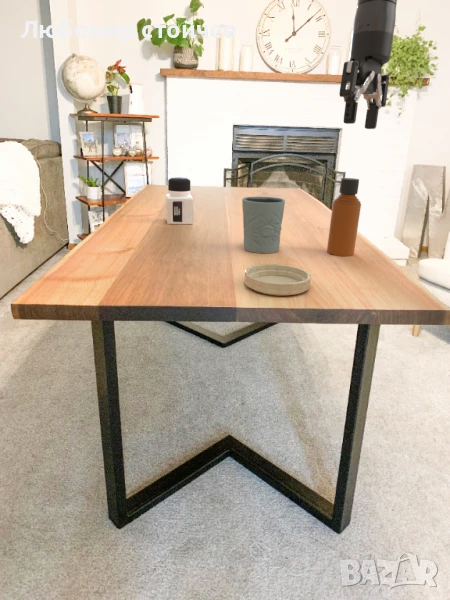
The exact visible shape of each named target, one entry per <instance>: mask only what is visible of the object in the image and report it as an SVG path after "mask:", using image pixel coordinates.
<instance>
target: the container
mask: <svg viewBox="0 0 450 600" xmlns="http://www.w3.org/2000/svg"><path fill="white" fill-rule="evenodd" d="M167 190H168V191H167V193H166V194H165V218H166V219H165V220H166V224H167V225H193V224H194V198H193V196H192V195H191V180H190V179H189V178H187V177H179V176H178V177H176V176H175V177H171V178H169V179H168V180H167Z"/></svg>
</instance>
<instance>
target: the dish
mask: <svg viewBox="0 0 450 600" xmlns="http://www.w3.org/2000/svg"><path fill="white" fill-rule="evenodd" d="M311 278H312V274H311V273H309V272H308V270H305V269H303V268H300V267H297V266H293V265H288V264H279V263H261V264H256V265H255V264H254V265H252V266H250V267H248V268H246V270H245V271H244V283H245V285H246V287H248V288H250V289H252V290H254V291H255V292H258V293H260V294H265V295H270V296H279V297H281V296H282V297H283V296H284V297H285V296H295V295H298V294H303V293H304V292H307V291H308V290H310V286H311Z"/></svg>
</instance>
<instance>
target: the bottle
mask: <svg viewBox="0 0 450 600" xmlns="http://www.w3.org/2000/svg"><path fill="white" fill-rule="evenodd" d="M331 206H332V207H331V214H330V223H329V231H328V232H329V233H328V237H327V238H328V239H327V247H326V253H327V254H330V255H332V256H336V257H337V256H338V257H352V256H354V255H355V248H356V241H357V237H358V235H357V234H358V229H359V222H360V215H361V209H362V202H361V201H360V198H358V196H357V195H356V194H342V193H340V194H339V195H338V196H337V197H336V198H335V199H333V201H332V205H331Z"/></svg>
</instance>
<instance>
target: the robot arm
mask: <svg viewBox="0 0 450 600" xmlns="http://www.w3.org/2000/svg"><path fill="white" fill-rule="evenodd" d="M356 3H357V4H356V11H355V14H354V18H353V24H352V25H353V26H352V33H351V41H350V48H349V57H348V61H344V63H343V68H342V73H341V74H342V75H341V80H340V87H339V94H338V95H339V97H340V98H343V101H344V102H343V103H345V106H344V111H343V112H344V113H343V124H347V125H352V124H353V125H354V124H355V123H356V122H357V121H356V120H357V113H358V107H359V99H360V98H361V96H363V99H364V100H365V101H366V105H367V109H366V115H365V122H364V128H365V129H366V130H375V129H376V128H377V125H378V124H377V123H378V117H379V111H380V109H382V108H385V107H386V105H387V99H388V90H389V82H390V75H389V74H382V67H383V66H384V65H386V64H388V63H389V62H390V60H391V54H392V48H393V41H394V34H395V26H396V20H397V19H396V18H397V17H396V16H397V4H398V0H357V2H356Z"/></svg>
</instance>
